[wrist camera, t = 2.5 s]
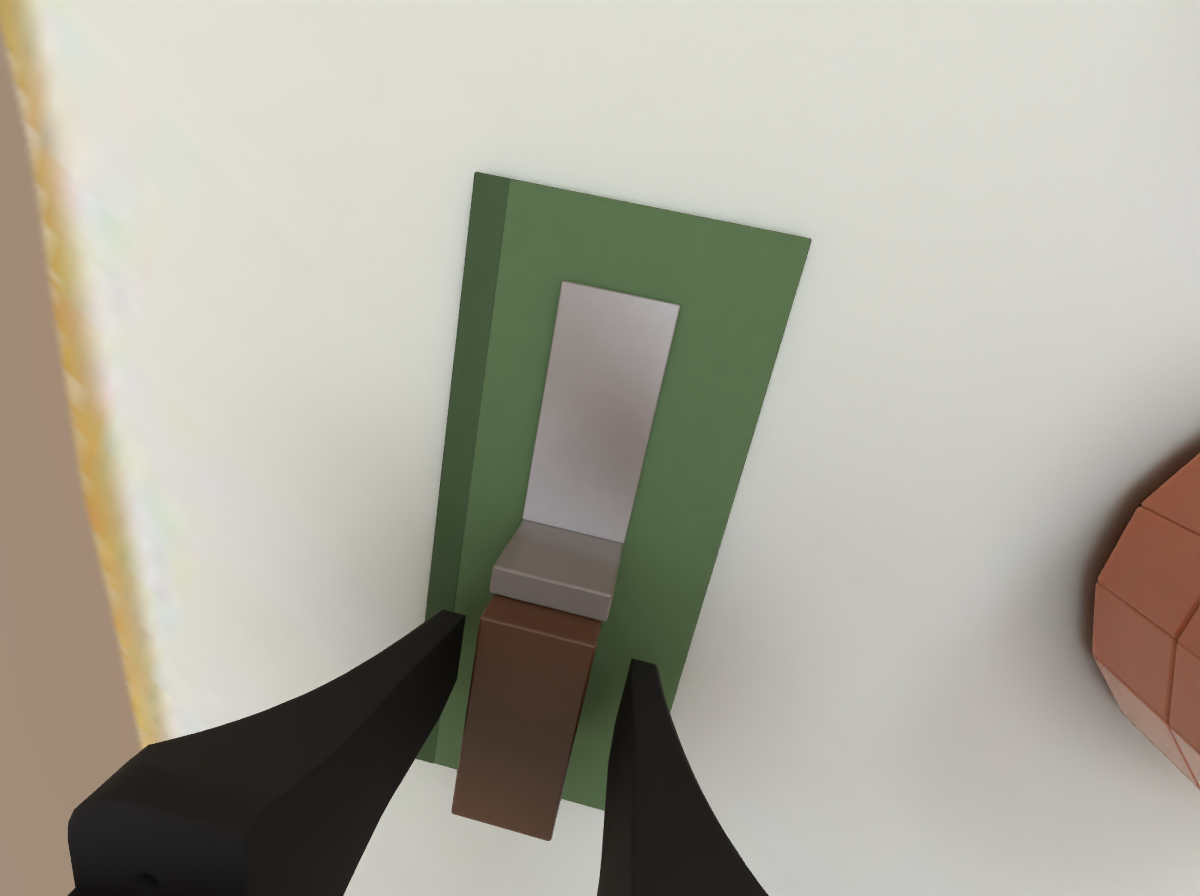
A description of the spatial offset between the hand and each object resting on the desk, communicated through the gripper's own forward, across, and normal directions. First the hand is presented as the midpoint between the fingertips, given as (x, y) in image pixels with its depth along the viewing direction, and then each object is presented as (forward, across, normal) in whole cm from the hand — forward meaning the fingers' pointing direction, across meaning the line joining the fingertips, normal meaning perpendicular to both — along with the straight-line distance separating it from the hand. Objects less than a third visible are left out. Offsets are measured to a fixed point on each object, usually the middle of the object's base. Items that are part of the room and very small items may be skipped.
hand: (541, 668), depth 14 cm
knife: (+1, 0, -3) cm, 4 cm away
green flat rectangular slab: (+2, 0, -3) cm, 3 cm away
